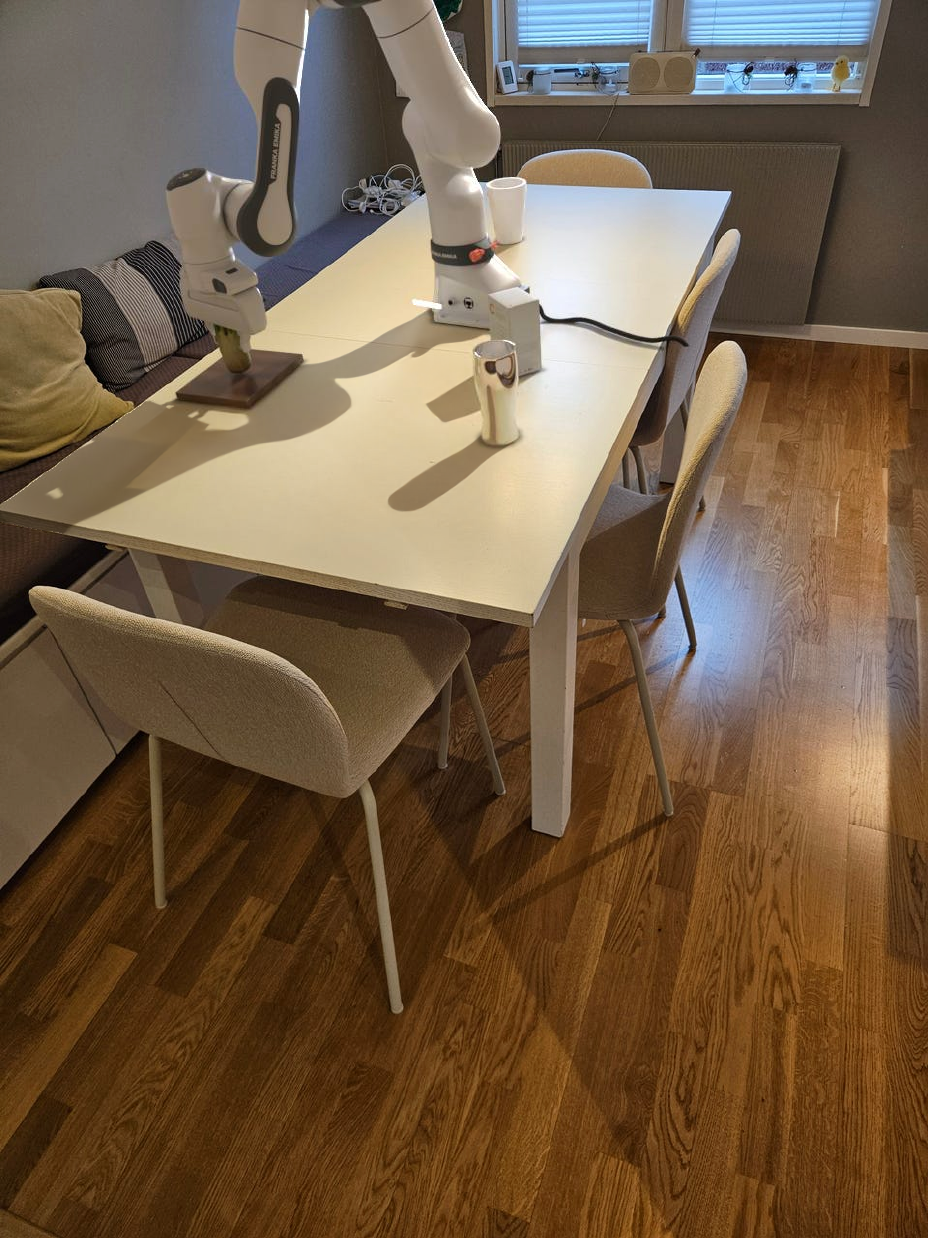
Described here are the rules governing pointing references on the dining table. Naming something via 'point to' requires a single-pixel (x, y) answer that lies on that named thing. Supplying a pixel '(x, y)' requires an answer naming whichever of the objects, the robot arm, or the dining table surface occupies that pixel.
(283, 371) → the cutting board
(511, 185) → the foam cup
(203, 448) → the dining table surface
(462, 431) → the dining table surface
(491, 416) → the beer glass
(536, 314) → the small box
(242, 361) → the fennel bulb
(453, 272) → the robot arm
